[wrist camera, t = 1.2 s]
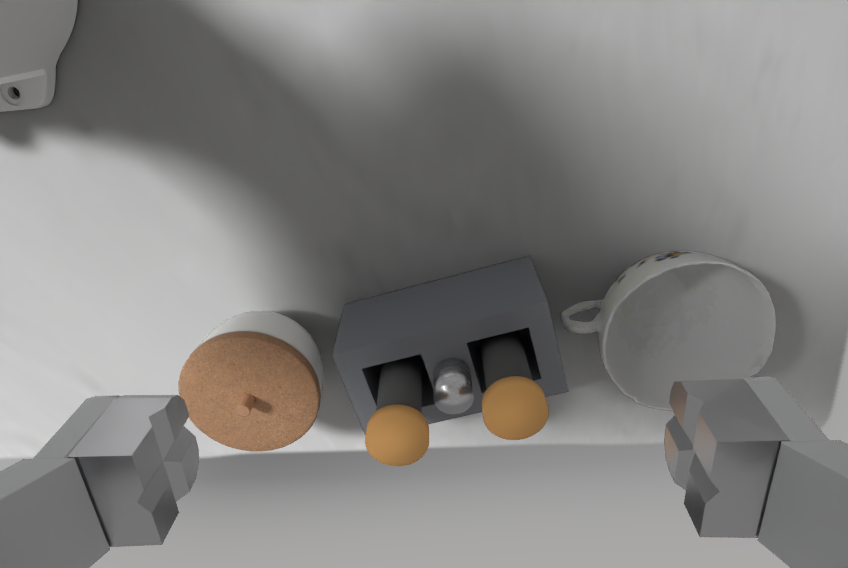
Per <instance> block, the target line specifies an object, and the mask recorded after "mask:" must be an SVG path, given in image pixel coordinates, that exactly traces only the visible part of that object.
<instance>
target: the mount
mask: <svg viewBox="0 0 848 568" xmlns="http://www.w3.org/2000/svg"><path fill="white" fill-rule="evenodd" d="M516 330H518V331H519V333H520V336H521V340H522V344H523V347H524V351H525V354H526V358H527V362H528V365H529V369H530V373H531V376H532V380H533V381H534V382H536V383H537V384H538V385H539V386H540V387H541V388H542V390H543V392H544V395H545V397H547V396H552V395H556V394H560V393H565V392H568V388H567V384H566V379H565V375H564V371H563V366H562V362H561V358H560V353H559V349H558V344H557V340H556V336H555V331H554V327H553V323H552V318H551V314H550V309H549V305H548V301H547V298H546V296H545V293H544V291H543V288H542V286H541V283H540V281H539V278H538V275H537V273H536V270H535V268H534V265H533V263H532V260H531V258H530V256H527V257H523V258H520V259H516V260H512V261H508V262H504V263H500V264H497V265H493V266H489V267H485V268H481V269H478V270H474V271H470V272H466V273H462V274H459V275H455V276H451V277H447V278H443V279H439V280H436V281H432V282H428V283H424V284H420V285H417V286H413V287H409V288H405V289H401V290H397V291H394V292H390V293H386V294H382V295H378V296H375V297H371V298H367V299H363V300H359V301H355V302H352V303H348V304H345V305H344V309H343V313H342V317H341V321H340V325H339V329H338V333H337V337H336V341H335V345H334V349H333V353H332V357H333V359H334V362H335V364H336V367H337V369H338V371H339V374H340V376H341V378H342V381H343V383H344V386H345V388H346V390H347V393H348V395H349V398H350V400H351V402H352V405H353V407H354V409H355V412H356V414H357V417H358V419H359V421H360V424H361V426H362V428H363V431H364V433H365V436H366V429H367V423H368V421H369V419H370V417H371V416H372V415H373V414H374V413H375V412H376V407H377V398H378V390H379V381H380V372H381V364H383V363H387V362H391V361H395V360H399V359H403V358H407V357H411V356H415V355H419V356H420V358H421V361H422V415H423V416H424V417H425V419H426V420H427V422H428V424H431V423H436V422H440V421H444V420H449V419H453V418H457V417H461V416H466V415H470V414H474V413H479V412H483V411H482V398H483V395H484V393H485V391H486V390H487V387H486V381H485V375H484V368H483V362H482V355H481V349H480V342H479V340H480V339H484V338H488V337H492V336H496V335H500V334H504V333H508V332H512V331H516ZM447 358H457V359H460V360H463V361H464V362H466V363H467V365H468V366H469V368H470V371H471V378H472V387H473V395H474V400H473V403H472V405H471V407H470V408H469V409H468V410H466V411H465V412H463V413H460V414H447V413H444V412H442V411H440V410H439V409H438V408H437V407H436V405H435V403H434V395H433V371H434V368H435V366H436V365H437V364H438V363H439V362H440V361H442V360H444V359H447Z"/></svg>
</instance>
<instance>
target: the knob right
mask: <svg viewBox="0 0 848 568" xmlns="http://www.w3.org/2000/svg"><path fill="white" fill-rule="evenodd" d="M479 342H480V349H481V355H482V362H483V368H484V375H485V381H486V387H487V390H486V391H485V393H484V395H483V398H482V411H483V418H484V422H485V425H486V426H487V428H488V429H489V430H490V431H491V432H492V433H493V434H494V435H496V436H498V437H500V438H503V439H508V440H520V439H524V438H528V437H530V436H532V435H534V434H536V433H537V432H538V431H540V430H541V429H542V428H543V426H544V425H545V423H546V421H547V419H548V415H549V409H548V405H547V401H546V398H545V395H544V392H543V390H542V388H541V387H540V386H539V385H538V384H537V383H536V382H534V381H533V380H532V376H531V373H530V369H529V365H528V362H527V358H526V354H525V351H524V347H523V344H522V340H521V336H520V333H519V331H518V330H516V331H512V332H508V333H504V334H500V335H496V336H492V337H488V338H484V339H480V340H479Z"/></svg>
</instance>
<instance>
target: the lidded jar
mask: <svg viewBox="0 0 848 568" xmlns="http://www.w3.org/2000/svg"><path fill="white" fill-rule="evenodd" d="M322 383H323V367H322V360H321V356H320V352H319V350H318V348H317V346H316V343H315V341H314V340H313V338H312V337H311V335H310V334H309V333H308V332H307V331H306V330H305V329H304V328H303V327H302V326H301V325H300V324H298V323H297V322H296V321H294V320H292V319H291V318H289V317H287V316H284V315H282V314H278V313H275V312H269V311H250V312H245V313H241V314H238V315H235V316H233V317H231V318H229V319H227V320H225V321H224V322H222V323H221V324H219V325H218V326H217V327H215V328H214V329H213V330H212V331H211V332H210V333H209V334H208V335H207V336H206V337H205V338H204V339H203V340H202V341H201V343H200V344H199V346H198V347H197V348H196V349H195V350H194V352H193V353H192V354H191V355H190V357H189V358H188V360H187V361H186V363H185V364H184V366H183V369H182V371H181V374H180V378H179V395H180V397H181V398H183V399H184V400H185V403H186V406H187V409H188V412H189V418H190V420H191V421H192V422H193V423H194V425H195V426H196V427H197V428H198V429H200V430H201V431H202V432H203V433H204V434H206V435H207V436H209V437H210V438H211V439H213V440H215V441H217V442H219V443H221V444H224V445H226V446H229V447H231V448H236V449H240V450H246V451H268V450H274V449H278V448H281V447H284V446H287V445H289V444H291V443H293V442H295V441H296V440H298V439H300V438H301V437H302V436H303V435H304V434H305V433H306V432H307V431H308V430H309V429H310V427H311V426H312V425H313V423H314V421H315V419H316V417H317V413H318V410H319V406H320V398H321V391H322Z"/></svg>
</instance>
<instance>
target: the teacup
mask: <svg viewBox="0 0 848 568" xmlns="http://www.w3.org/2000/svg"><path fill="white" fill-rule="evenodd" d="M592 308H599V309H600V312H599V313H598V314H597V315H596V316H595V318H594V319H593V320H592V321H590V322H580V321H576V320H571V319H570V318H569V317H570V316H571V315H573V314H575V313H577V312H580V311H586V310H589V309H592ZM560 316H561V321H562V324H563V327H564V328H565V329H566V330H568V331H571V332H574V333H578V334H587V333H593V332H596V331H597V332H598V343H599V351H600V355H601V359H602V362H603V364H604V366H605V369H606V371H607V372H608V374H609V376H610V378H611V379H612V381H613V382H614V383H615V384H616V385H617V386H618V388H619V389H620V390H621V391H622V392H623V394H624V395H626V396H628V397H630V398H632V399H633V400H634V401H635V402H637V403H638V404H641V405H644V406H647V407H651V408H656V409H661V410H668V411H673V409H672V407H671V405H670V404H669V399H670V392H671V388H672V386H673V384H674V381H698V380H722V379H738V378H748V377H752V376H753V375H755V374H757V373H759V371H760V370H761V368H762V367H763V366H764V365H765V364H766V363H767V360H768V357H769V356H770V355H771V353H772V350H773V347H774V346H773V344H774V339H775V333H776V323H777V322H776V314H775V309H774V306H773V303H772V300H771V297H770V294H769V292H768V291H767V289H766V288H765V286H764V285H763V283H762V282H761V281H760V280H759V279H758V278H756V277H755V276H754V275H753V274H751V273H750V272H748V271H746V270H744V269H742V268H741V267H739V266H737V265H735V264H733V263H731V262H729V261H727V260H724V259H722V258H719V257H716V256H713V255H710V254H706V253H702V252H696V251H684V250H682V251H668V252H662V253H658V254H655V255H651V256H649V257H646V258H644V259H642V260H640V261H638V262H636V263H635V264H633V265H631V266H630V267H629V268H627V269H626V270H625V271H623V272H622V273H621V274H620V275H619V276H618V277H617V279H616V280H615V281H614V282H613V284H612V285H611V287H610V288H609V290H608V291H607V293H606V295H605V298H604V299H602V300H594V301H583V302H580V303H577V304H575V305H573V306H571V307H569V308H567V309H565V310H564V311H563V312H562V313H561V314H560Z"/></svg>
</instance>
